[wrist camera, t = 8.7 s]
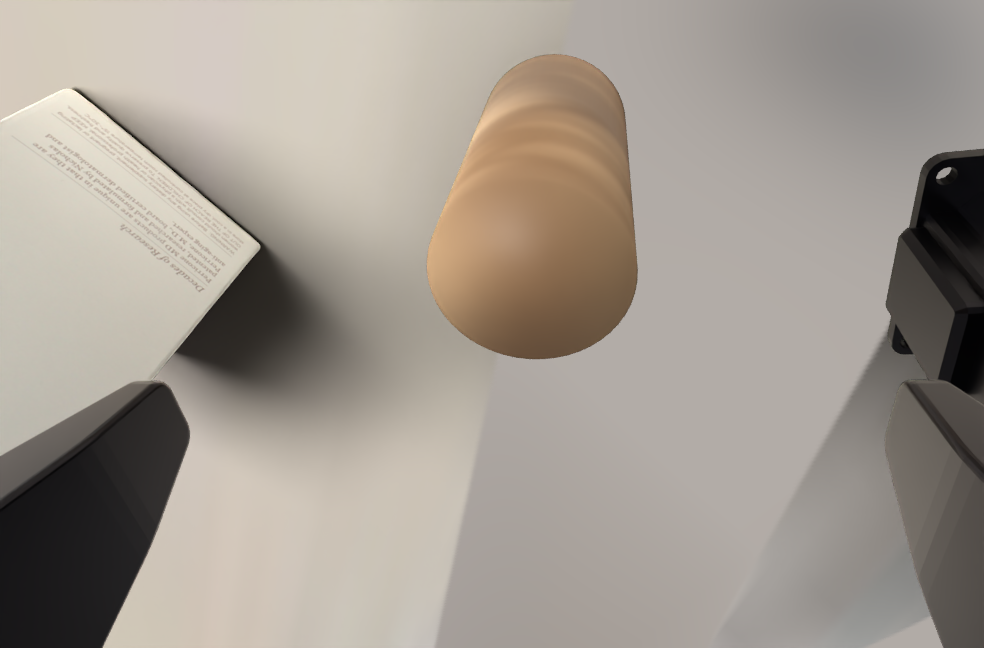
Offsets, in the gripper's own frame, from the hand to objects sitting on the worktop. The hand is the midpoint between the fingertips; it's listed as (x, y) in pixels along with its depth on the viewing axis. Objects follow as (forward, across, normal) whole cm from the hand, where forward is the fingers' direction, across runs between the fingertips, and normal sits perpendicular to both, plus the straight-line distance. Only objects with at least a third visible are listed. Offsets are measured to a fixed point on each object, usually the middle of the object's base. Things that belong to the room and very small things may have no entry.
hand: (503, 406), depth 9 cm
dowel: (+13, 0, +1) cm, 13 cm away
